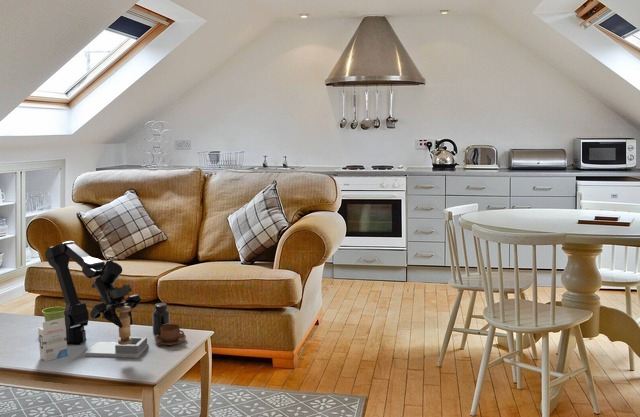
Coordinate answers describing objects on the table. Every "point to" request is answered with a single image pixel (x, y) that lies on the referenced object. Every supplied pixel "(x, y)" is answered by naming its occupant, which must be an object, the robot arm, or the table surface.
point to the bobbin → (124, 325)
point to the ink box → (53, 340)
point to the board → (119, 348)
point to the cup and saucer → (170, 335)
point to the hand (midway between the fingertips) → (126, 325)
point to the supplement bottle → (160, 317)
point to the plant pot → (53, 313)
